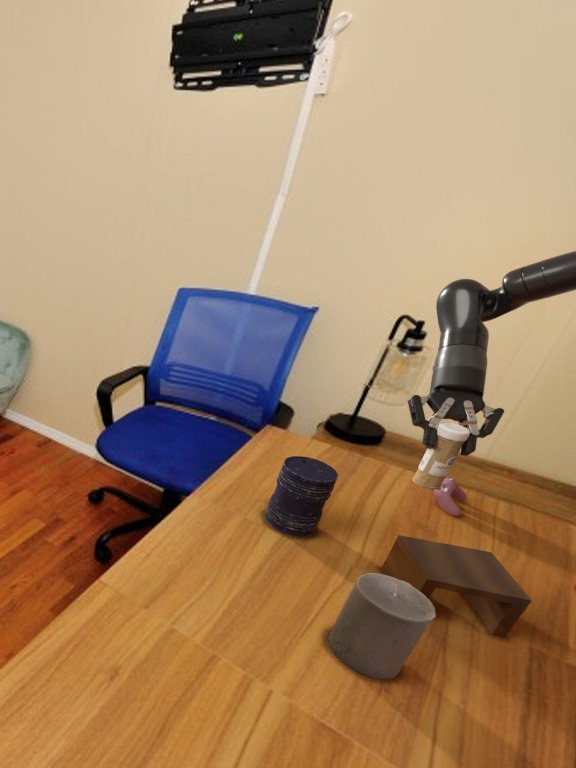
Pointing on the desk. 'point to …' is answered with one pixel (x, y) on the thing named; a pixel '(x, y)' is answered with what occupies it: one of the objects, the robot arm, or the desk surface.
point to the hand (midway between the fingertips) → (447, 450)
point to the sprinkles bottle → (441, 456)
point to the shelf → (460, 578)
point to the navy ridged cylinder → (300, 496)
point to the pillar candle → (380, 625)
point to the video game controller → (449, 496)
